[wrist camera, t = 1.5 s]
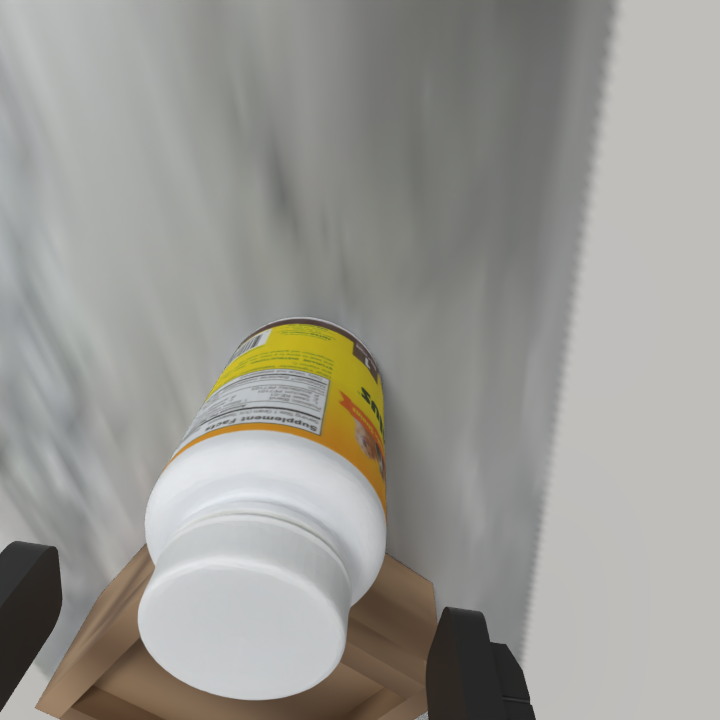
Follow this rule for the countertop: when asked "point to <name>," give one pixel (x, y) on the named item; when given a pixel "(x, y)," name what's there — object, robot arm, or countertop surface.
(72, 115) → the countertop surface
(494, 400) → the countertop surface
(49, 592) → the robot arm
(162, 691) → the walnut tray
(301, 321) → the supplement bottle
